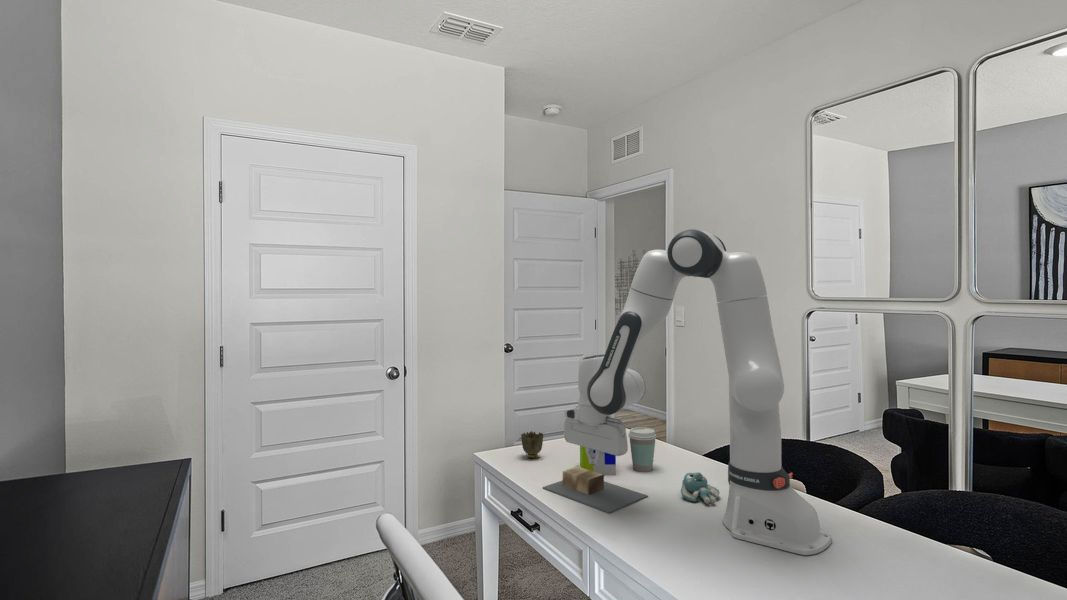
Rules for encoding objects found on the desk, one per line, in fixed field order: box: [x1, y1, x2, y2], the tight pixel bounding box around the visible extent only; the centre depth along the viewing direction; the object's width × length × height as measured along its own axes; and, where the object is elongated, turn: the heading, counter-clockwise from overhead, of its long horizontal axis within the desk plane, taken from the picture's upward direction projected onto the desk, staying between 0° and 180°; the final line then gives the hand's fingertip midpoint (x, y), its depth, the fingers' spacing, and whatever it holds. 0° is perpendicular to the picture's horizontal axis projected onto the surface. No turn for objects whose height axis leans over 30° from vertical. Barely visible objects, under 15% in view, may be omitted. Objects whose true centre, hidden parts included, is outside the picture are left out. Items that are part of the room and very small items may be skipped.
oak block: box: [562, 466, 605, 495], centre depth 151 cm, size 4×6×10 cm
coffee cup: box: [627, 426, 657, 473], centre depth 168 cm, size 8×8×12 cm
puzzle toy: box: [579, 445, 617, 476], centre depth 167 cm, size 10×10×10 cm
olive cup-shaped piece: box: [520, 430, 544, 460], centre depth 180 cm, size 8×7×8 cm
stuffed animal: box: [680, 471, 720, 505], centre depth 144 cm, size 11×7×12 cm
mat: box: [542, 479, 649, 515], centre depth 148 cm, size 24×16×1 cm, turn 42°
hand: (594, 464), depth 148 cm, fingers closed
